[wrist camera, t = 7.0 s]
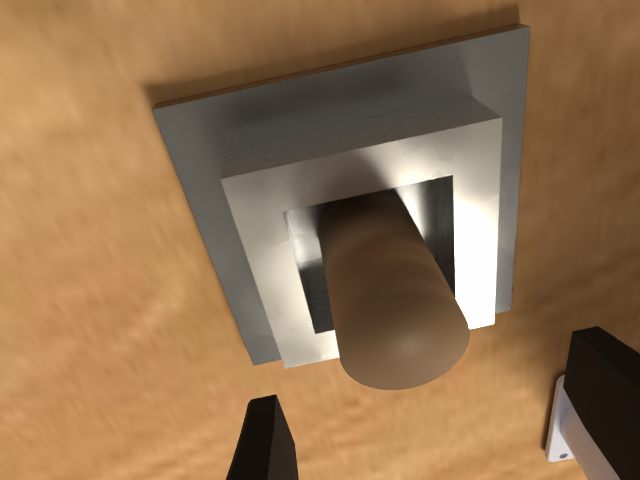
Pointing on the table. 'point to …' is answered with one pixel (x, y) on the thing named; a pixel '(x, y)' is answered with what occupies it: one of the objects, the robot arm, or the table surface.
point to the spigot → (388, 295)
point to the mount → (355, 177)
